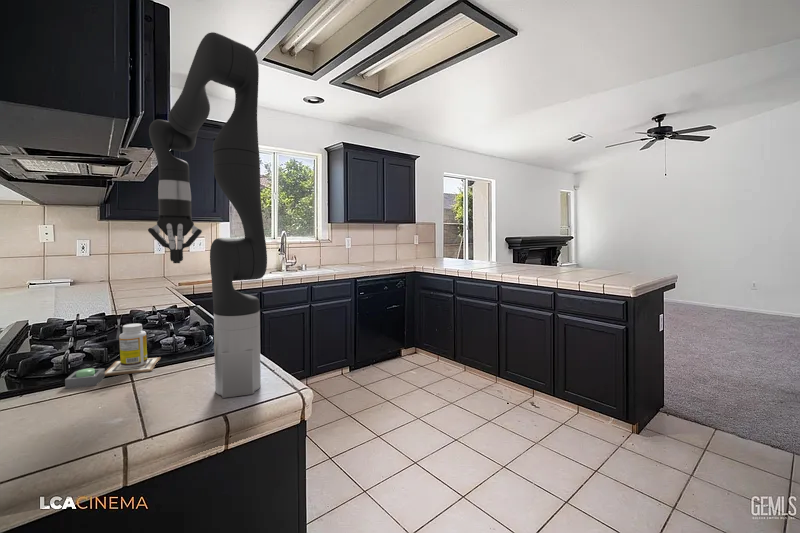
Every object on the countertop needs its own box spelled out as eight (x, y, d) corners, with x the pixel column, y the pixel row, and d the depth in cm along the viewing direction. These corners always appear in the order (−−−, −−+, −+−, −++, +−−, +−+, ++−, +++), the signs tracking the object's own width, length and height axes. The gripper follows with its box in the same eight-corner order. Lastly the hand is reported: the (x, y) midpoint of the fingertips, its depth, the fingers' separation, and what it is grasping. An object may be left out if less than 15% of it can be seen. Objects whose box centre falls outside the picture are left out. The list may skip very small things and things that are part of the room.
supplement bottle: (138, 359, 97) (136, 321, 96) (152, 362, 95) (151, 323, 94) (115, 366, 92) (113, 326, 91) (129, 370, 90) (127, 328, 89)
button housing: (96, 385, 82) (95, 376, 82) (65, 388, 80) (64, 379, 80) (105, 376, 87) (104, 368, 87) (76, 379, 85) (75, 371, 85)
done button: (92, 382, 83) (91, 372, 82) (74, 384, 81) (73, 374, 81) (97, 377, 86) (96, 367, 85) (80, 379, 84) (79, 369, 84)
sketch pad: (151, 371, 91) (151, 369, 91) (101, 376, 87) (101, 374, 87) (160, 358, 100) (160, 356, 100) (115, 362, 96) (115, 360, 96)
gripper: (142, 196, 93) (144, 264, 95) (201, 199, 98) (203, 263, 100) (148, 198, 100) (151, 262, 101) (203, 201, 105) (205, 261, 107)
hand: (177, 263), depth 101 cm, fingers closed
